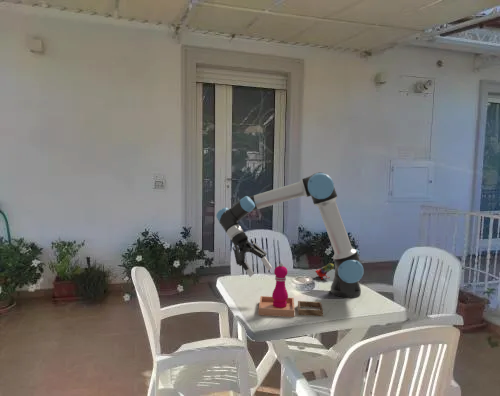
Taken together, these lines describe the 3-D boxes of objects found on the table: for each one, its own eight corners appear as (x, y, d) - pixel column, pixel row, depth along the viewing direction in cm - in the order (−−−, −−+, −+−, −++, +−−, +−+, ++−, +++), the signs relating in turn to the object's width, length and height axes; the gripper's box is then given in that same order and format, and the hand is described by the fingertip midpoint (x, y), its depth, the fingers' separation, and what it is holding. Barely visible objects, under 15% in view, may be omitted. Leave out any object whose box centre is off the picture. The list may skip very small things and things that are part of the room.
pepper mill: (277, 301, 186) (279, 259, 184) (290, 305, 182) (292, 262, 180) (268, 305, 181) (270, 262, 179) (281, 309, 176) (283, 265, 174)
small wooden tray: (320, 307, 183) (320, 302, 183) (322, 316, 172) (323, 310, 172) (297, 306, 184) (297, 300, 183) (298, 315, 173) (298, 309, 173)
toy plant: (326, 286, 228) (338, 274, 221) (311, 279, 226) (323, 267, 219) (325, 275, 234) (337, 263, 228) (311, 269, 232) (322, 257, 226)
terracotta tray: (293, 303, 186) (293, 297, 186) (294, 317, 171) (294, 310, 171) (260, 302, 188) (260, 296, 187) (258, 315, 172) (258, 308, 172)
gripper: (223, 234, 181) (248, 273, 172) (257, 228, 200) (281, 262, 191) (215, 244, 184) (239, 282, 176) (249, 236, 204) (272, 270, 195)
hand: (261, 272), depth 184 cm, fingers open, 13 cm apart
